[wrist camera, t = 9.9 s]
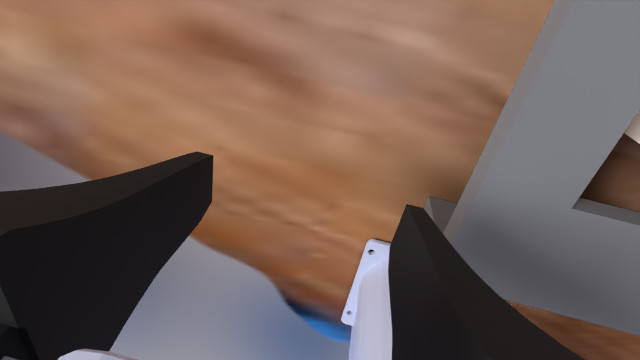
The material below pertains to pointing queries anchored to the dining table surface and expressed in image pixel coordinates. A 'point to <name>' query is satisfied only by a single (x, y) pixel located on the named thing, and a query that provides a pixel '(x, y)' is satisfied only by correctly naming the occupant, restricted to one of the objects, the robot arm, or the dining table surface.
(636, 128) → the white rectangular prism
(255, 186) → the dining table surface
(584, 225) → the shelf
